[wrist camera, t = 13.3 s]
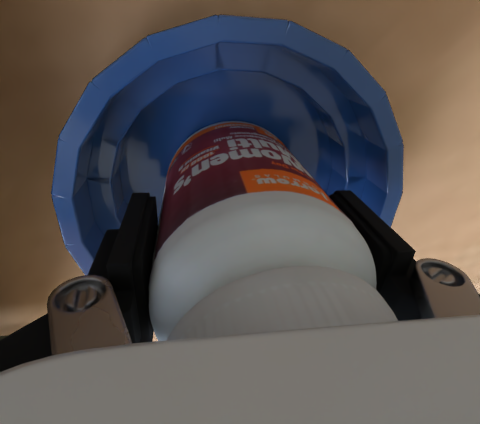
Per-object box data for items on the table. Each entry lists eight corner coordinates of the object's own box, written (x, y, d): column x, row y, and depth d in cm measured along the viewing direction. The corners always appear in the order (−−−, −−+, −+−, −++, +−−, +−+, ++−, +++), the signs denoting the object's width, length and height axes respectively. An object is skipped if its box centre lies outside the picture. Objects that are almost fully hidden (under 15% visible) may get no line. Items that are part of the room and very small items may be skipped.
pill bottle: (281, 102, 14) (514, 263, 4) (298, 217, 17) (452, 467, 7) (146, 138, 14) (37, 395, 4) (188, 247, 17) (189, 542, 7)
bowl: (109, 285, 18) (90, 345, 14) (55, 9, 11) (-4, -4, 8) (328, 274, 20) (357, 323, 16) (388, 34, 13) (458, 32, 10)
